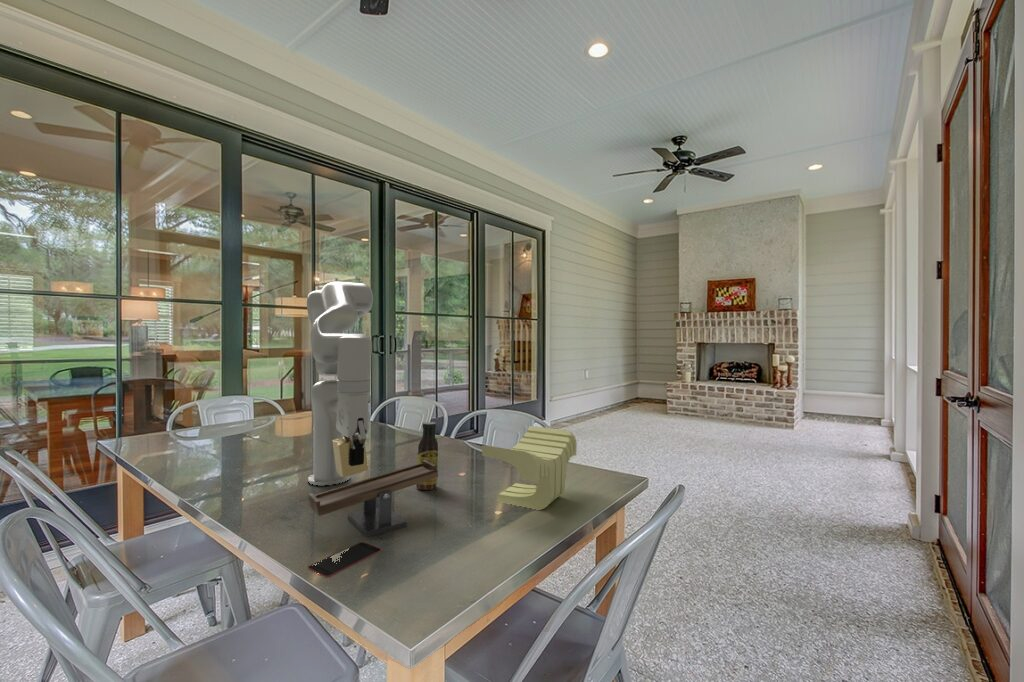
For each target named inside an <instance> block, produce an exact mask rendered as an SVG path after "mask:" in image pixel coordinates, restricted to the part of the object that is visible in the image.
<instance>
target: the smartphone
mask: <svg viewBox="0 0 1024 682" xmlns="http://www.w3.org/2000/svg"><path fill="white" fill-rule="evenodd" d="M349 547H350V548H349ZM349 547H348V548H349V550H348V551H346V552H345V551H344V552H345V553H344V552H343V554H342V553H341V555H340V556H342V558H341V557H340V562H339V560H338V561H336V562H335V563H334V561H333V562H332V558H330V557H331V556H332V555H333V554H332V555H329V556H327V557H325V558H322V559H320V560H318V561H316V562H314V563H312V564H310V565H311V566H310V565H308V566H307V569H308V568H309V569H310V570H309V569H308V570H309V571H311V570H312V571H311V572H313V571H314V572H313V573H315V572H316V573H315V574H317V573H319V574H320V575H319V574H318V575H319V576H321V575H322V576H321V577H323V576H325V577H324V578H330V577H333V576H334V574H335V575H337V574H339V573H340V571H341V572H343V571H345V570H347V569H349V568H350V567H353V566H354V565H356V564H358V563H360V562H362V560H363V561H364V559H365V560H366V558H367V559H368V557H369V558H370V556H371V557H373V556H374V554H375V555H377V554H379V553H380V552H382V548H380V547H378V546H375V545H372V544H370V543H368V542H364V541H361V542H358V543H356V544H353V545H351V546H349ZM378 552H379V553H378ZM376 553H377V554H376ZM372 555H373V556H372ZM326 558H327V559H326ZM338 559H339V558H338ZM321 560H322V562H321ZM336 560H337V559H336ZM319 561H320V562H319ZM316 563H317V565H316V566H315V565H313V564H316ZM318 563H319V564H318ZM336 563H337V564H336ZM312 565H313V566H312ZM348 567H349V568H348ZM346 568H347V569H346ZM344 569H345V570H344ZM342 570H343V571H342ZM338 572H339V573H338ZM336 573H337V574H336ZM332 575H333V576H332Z"/></svg>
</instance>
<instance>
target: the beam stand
mask: <svg viewBox="0 0 1024 682" xmlns="http://www.w3.org/2000/svg"><path fill="white" fill-rule="evenodd" d="M392 494H393V492H392V491H390V490H389V491H384V492H379V493H378V497H376V498H373V499H370V500H367V501H364V502H362V510H358V511H354V512H350V513H347V519H348V520H349V521H350V522H351V523H352V524H353V525H354V526H355V527H356V526H357V527H356V528H357V529H358V531H360V533H362V534H363V536H364V537H366V538H367V536H368V537H370V536H371V535H372V536H376V535H378V533H379V534H383V533H387V532H391V531H394V529H395V530H398V528H399V529H402V528H405V527H408V526H407V525H408V524H407V523H408V522H407V520H405V519H404V518H403V517H401V516H400V515H399V514H398V513H396V512H395V511H394V510H392V504H393V503H392V500H393V499H392ZM390 530H391V531H390ZM386 531H387V532H386ZM375 534H376V535H375ZM372 536H371V537H372Z"/></svg>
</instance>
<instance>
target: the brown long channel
mask: <svg viewBox="0 0 1024 682" xmlns="http://www.w3.org/2000/svg"><path fill="white" fill-rule="evenodd" d="M438 477H439V470H438V468H437V469H436V465H434V464H432V463H430V462H428V461H426V460H422V463H419V464H417V463H416V464H413V465H409V466H406V467H402V468H400V469H395V470H393V471H389V472H387V473H382V474H379V475H376V476H373V477H369V478H366V479H365V478H364V479H362V480H358V481H355V482H353V483H349V484H346V485H343V486H339V487H336V488H333V489H329V490H325V491H323V492H322V491H321V492H319V493H316V494H314V493H313V492H310V493H308V496H307V497H308V498H307V499H308V505H309V507H310V508H311V509H312V510H313V511H314V513H315V514H316V515H317V516H318V517H321V516H324V515H327V514H330V513H333V512H335V511H339V510H342V509H344V508H347V507H351V506H354V505H357V504H360V503H363V502H364V501H367V500H370V499H373V498H376V499H377V498H378V493H379V492H384V491H389V490H390V491H392V493H394V492H398V491H401V490H403V489H406V488H409V487H413V486H415V485H416V484H419V483H422V482H425V481H428V480H431V479H434V478H437V479H438Z"/></svg>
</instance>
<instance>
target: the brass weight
mask: <svg viewBox="0 0 1024 682" xmlns="http://www.w3.org/2000/svg"><path fill="white" fill-rule="evenodd" d="M354 435H359V434H358V433H355V434H354ZM357 439H358V438H355V442H356V440H357ZM332 442H333V449H334V457H335V464H336V471H337V473H338V474H339V475H341V476H342V477H343V478H345V477H348V476H350V477H351V476H354V475H357V474H359V473H363V472H366V471H369V465H368V458H367V450H366V446H365V447H364V464H362V465H356V466H350V449H352V448H351V437H343V438H339V439H335V440H332ZM365 443H366V442H365ZM365 443H364V444H365ZM365 445H366V444H365Z"/></svg>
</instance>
